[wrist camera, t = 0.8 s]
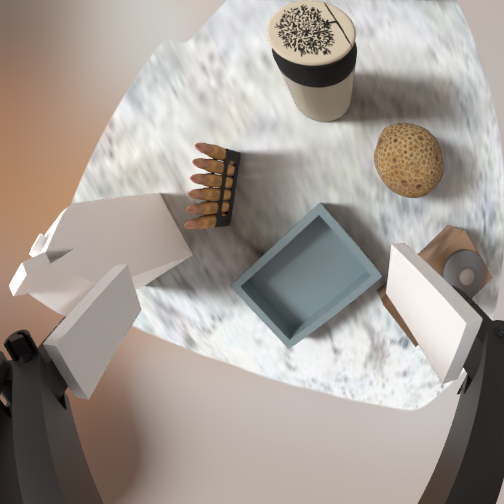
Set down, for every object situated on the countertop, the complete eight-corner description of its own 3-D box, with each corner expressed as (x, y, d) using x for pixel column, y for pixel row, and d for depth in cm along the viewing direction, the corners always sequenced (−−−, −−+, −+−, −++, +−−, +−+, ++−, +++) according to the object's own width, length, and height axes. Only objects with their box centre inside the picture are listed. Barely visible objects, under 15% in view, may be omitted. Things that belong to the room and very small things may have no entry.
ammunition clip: (229, 225, 42) (191, 236, 30) (218, 223, 42) (176, 233, 31) (240, 152, 39) (204, 137, 28) (228, 151, 40) (189, 136, 28)
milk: (144, 285, 48) (25, 344, 24) (116, 230, 48) (-9, 257, 23) (193, 254, 44) (59, 312, 20) (159, 192, 44) (17, 200, 20)
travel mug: (300, 126, 36) (273, 74, 19) (289, 77, 35) (256, 8, 18) (356, 118, 34) (371, 60, 17) (342, 69, 33) (342, -7, 16)
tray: (320, 202, 38) (319, 203, 33) (377, 268, 37) (382, 276, 33) (240, 277, 43) (230, 285, 39) (293, 335, 42) (288, 348, 38)
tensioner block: (447, 225, 33) (471, 232, 25) (473, 267, 32) (498, 281, 25) (377, 290, 37) (386, 311, 30) (406, 327, 37) (418, 354, 29)
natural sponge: (358, 143, 35) (365, 125, 25) (412, 124, 32) (435, 103, 22) (383, 206, 35) (399, 208, 26) (437, 185, 32) (467, 182, 23)
